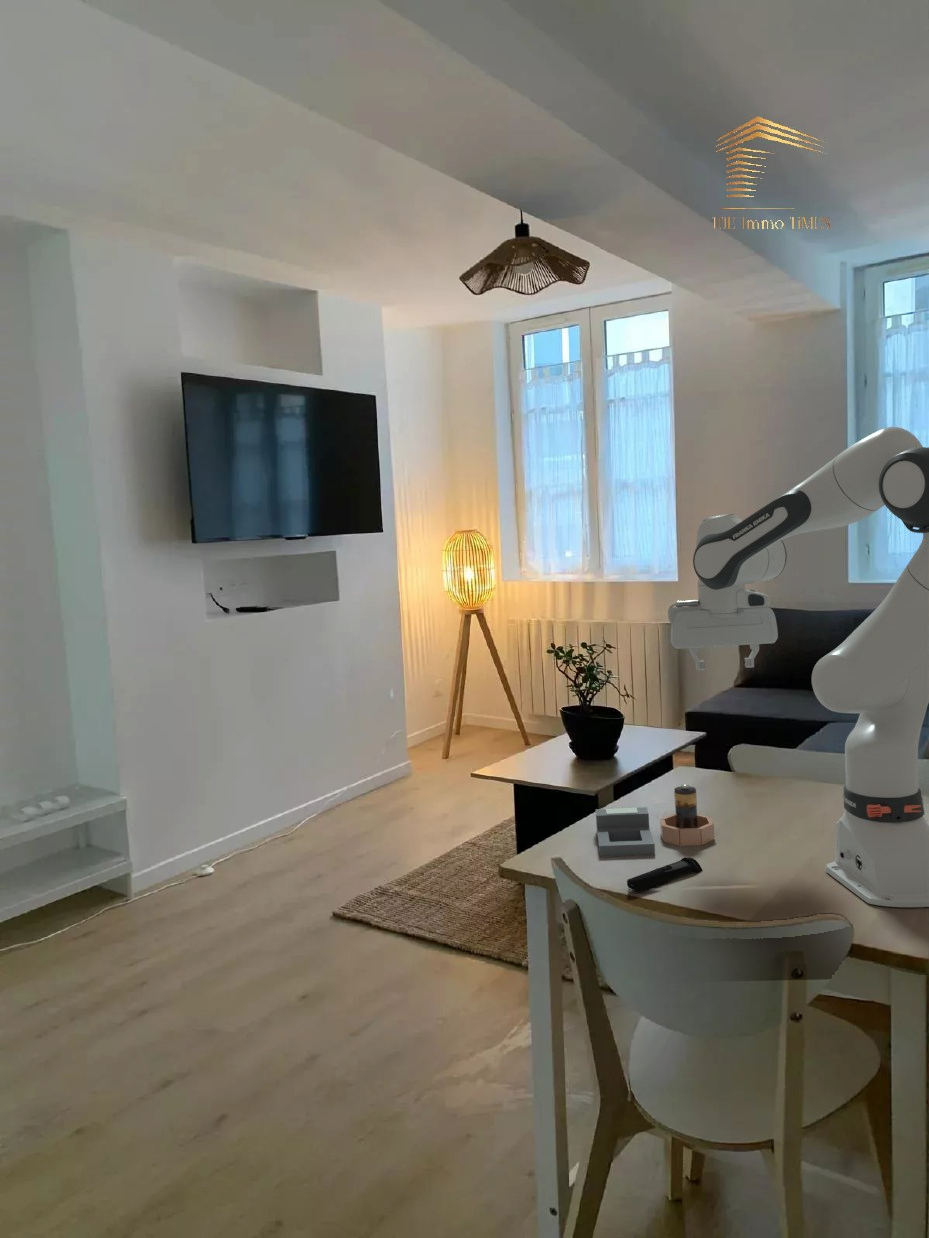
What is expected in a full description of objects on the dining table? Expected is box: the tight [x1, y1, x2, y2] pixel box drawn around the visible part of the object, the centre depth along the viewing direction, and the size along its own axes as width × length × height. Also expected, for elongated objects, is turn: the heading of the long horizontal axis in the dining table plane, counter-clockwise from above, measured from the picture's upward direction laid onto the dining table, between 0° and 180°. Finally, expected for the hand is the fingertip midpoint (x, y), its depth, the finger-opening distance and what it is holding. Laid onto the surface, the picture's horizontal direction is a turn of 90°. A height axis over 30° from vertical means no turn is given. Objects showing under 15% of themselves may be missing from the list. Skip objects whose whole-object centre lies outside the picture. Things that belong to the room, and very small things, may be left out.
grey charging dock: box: [595, 806, 656, 858], centre depth 179 cm, size 14×10×5 cm
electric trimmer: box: [626, 856, 703, 893], centre depth 160 cm, size 4×16×3 cm, turn 121°
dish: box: [659, 813, 715, 847], centre depth 180 cm, size 10×10×4 cm
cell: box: [673, 783, 698, 829], centre depth 179 cm, size 4×4×10 cm
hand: (724, 668), depth 184 cm, fingers open, 8 cm apart
